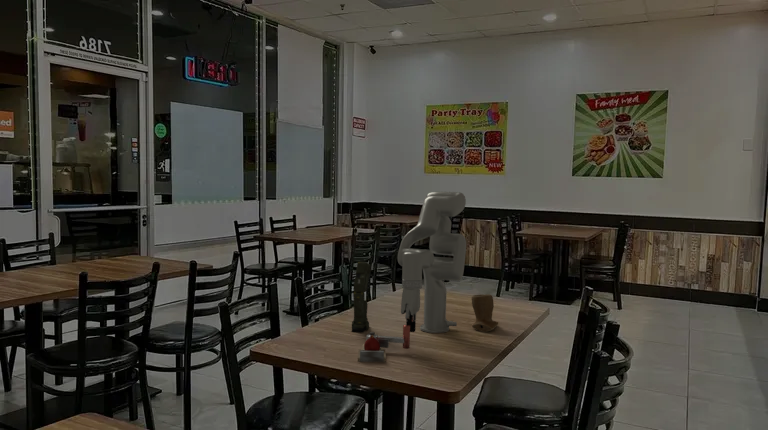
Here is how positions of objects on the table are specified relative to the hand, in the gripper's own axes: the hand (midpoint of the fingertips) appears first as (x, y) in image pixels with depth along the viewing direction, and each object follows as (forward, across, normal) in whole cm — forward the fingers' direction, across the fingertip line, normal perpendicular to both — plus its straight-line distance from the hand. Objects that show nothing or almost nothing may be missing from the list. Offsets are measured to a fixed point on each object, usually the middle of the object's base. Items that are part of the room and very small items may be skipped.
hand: (410, 331), depth 218 cm
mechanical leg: (+7, -19, -29) cm, 35 cm away
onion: (+7, +15, -10) cm, 20 cm away
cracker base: (+7, +13, -11) cm, 18 cm away
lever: (+5, +7, -7) cm, 11 cm away
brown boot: (+7, -42, +20) cm, 48 cm away
